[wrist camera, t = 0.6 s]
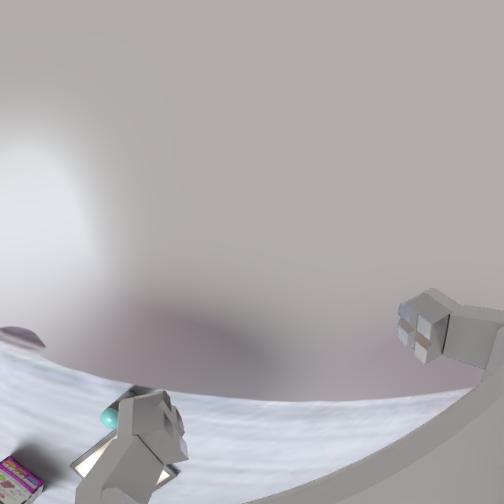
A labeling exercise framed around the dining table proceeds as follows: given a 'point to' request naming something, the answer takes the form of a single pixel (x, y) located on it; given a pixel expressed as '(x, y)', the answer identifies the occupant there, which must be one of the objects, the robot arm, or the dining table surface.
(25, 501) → the candy bar box
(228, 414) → the dining table surface
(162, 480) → the framed mirror
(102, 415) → the ball
